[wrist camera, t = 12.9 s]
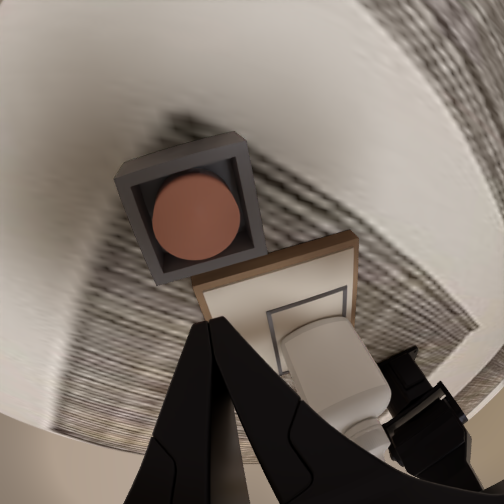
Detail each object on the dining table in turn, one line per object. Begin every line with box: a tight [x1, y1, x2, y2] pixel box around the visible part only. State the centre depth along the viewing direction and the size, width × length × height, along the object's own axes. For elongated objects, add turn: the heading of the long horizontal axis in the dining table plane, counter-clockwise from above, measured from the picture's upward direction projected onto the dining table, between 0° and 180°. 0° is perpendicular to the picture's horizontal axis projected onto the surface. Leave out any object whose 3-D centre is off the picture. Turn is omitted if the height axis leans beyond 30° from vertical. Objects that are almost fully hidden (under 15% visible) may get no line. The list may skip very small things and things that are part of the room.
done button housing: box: [114, 131, 268, 286], centre depth 15 cm, size 6×6×3 cm
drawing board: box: [191, 230, 359, 376], centre depth 22 cm, size 12×11×2 cm
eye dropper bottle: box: [281, 317, 391, 462], centre depth 18 cm, size 4×6×12 cm
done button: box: [152, 168, 240, 260], centre depth 14 cm, size 4×4×2 cm
